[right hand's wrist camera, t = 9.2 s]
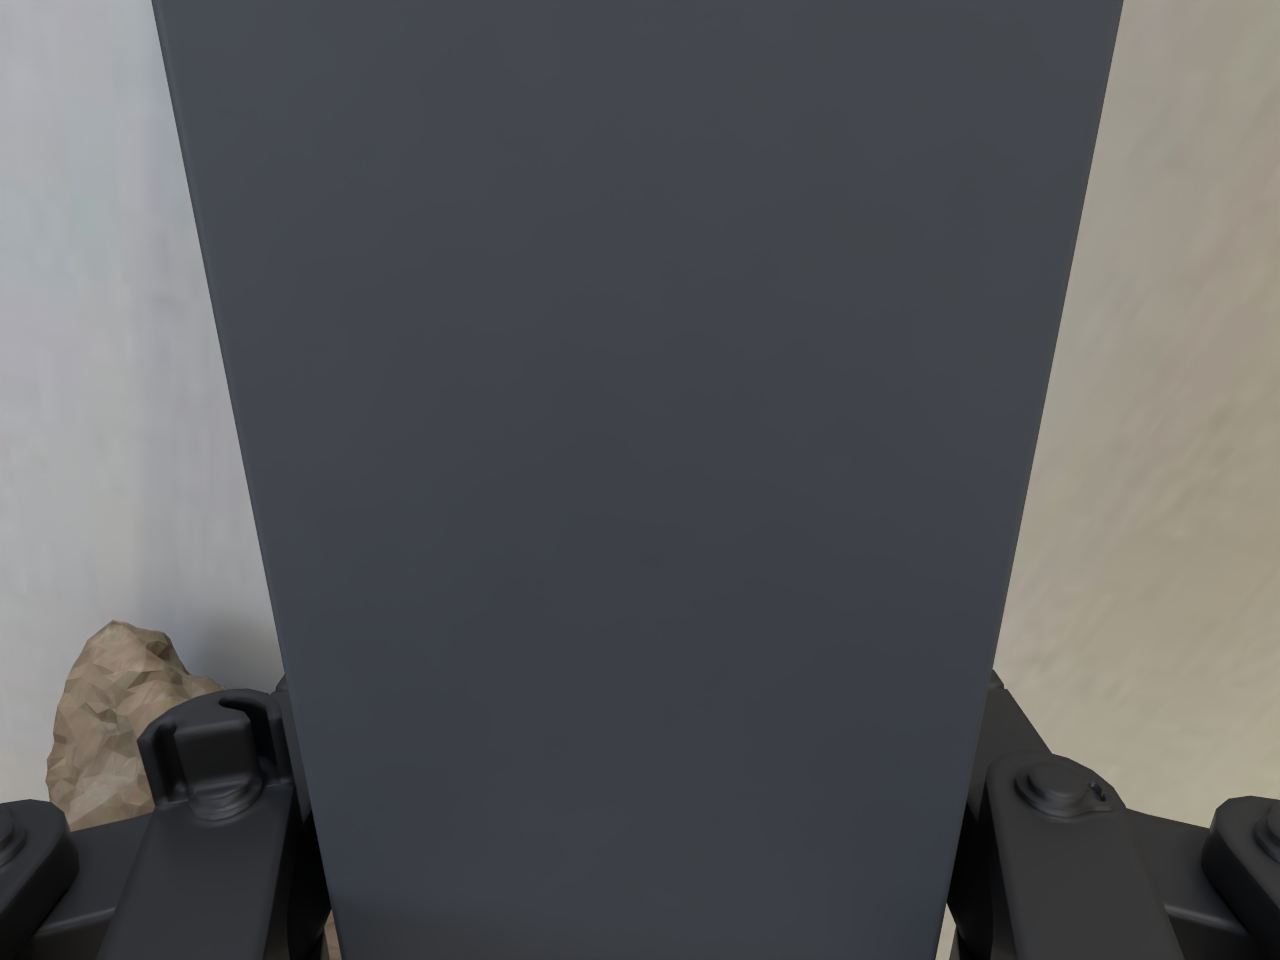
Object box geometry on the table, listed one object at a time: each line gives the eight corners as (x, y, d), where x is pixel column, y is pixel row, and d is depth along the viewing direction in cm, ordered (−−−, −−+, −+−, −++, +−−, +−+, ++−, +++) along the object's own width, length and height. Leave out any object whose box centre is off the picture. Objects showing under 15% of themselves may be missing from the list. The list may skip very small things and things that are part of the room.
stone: (-39, 899, 32) (-135, 1035, 27) (122, 587, 31) (57, 661, 25) (440, 1007, 40) (444, 1131, 34) (588, 760, 38) (618, 848, 33)
